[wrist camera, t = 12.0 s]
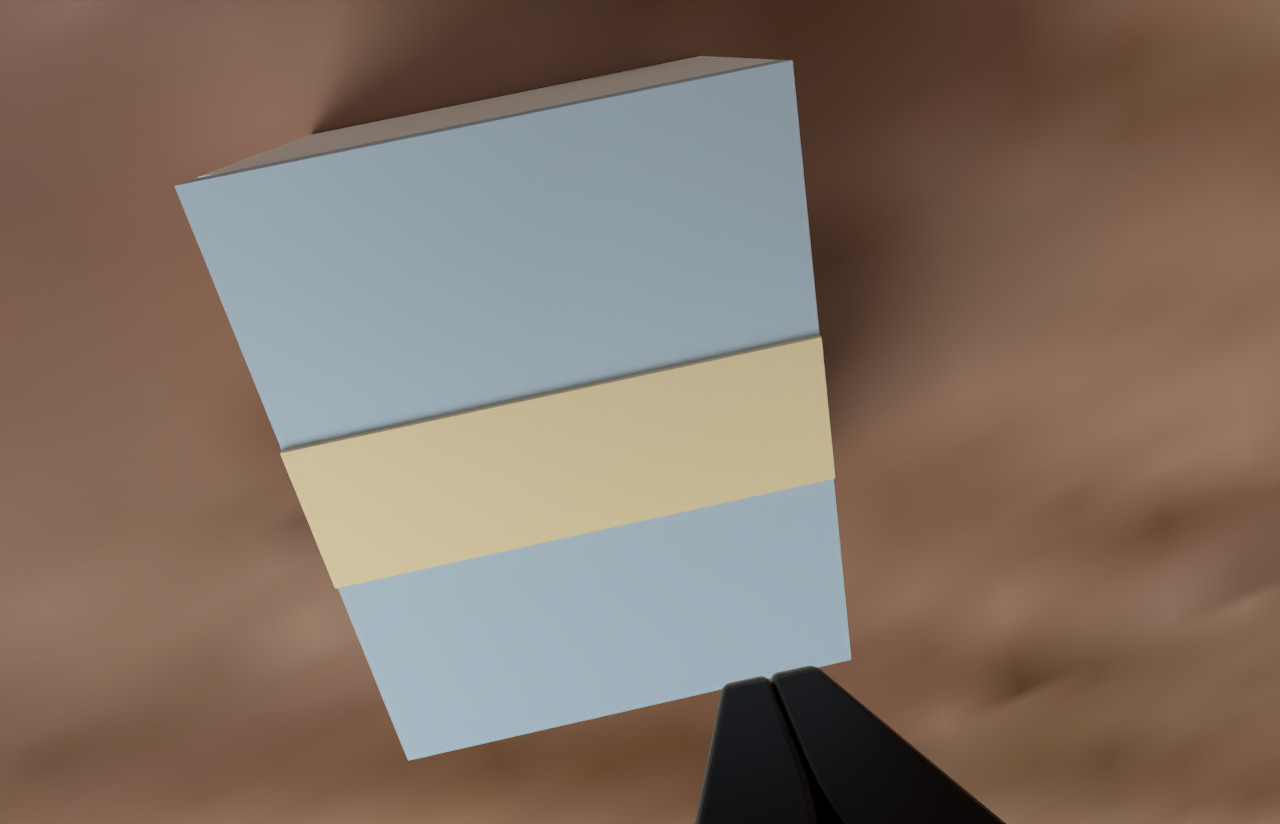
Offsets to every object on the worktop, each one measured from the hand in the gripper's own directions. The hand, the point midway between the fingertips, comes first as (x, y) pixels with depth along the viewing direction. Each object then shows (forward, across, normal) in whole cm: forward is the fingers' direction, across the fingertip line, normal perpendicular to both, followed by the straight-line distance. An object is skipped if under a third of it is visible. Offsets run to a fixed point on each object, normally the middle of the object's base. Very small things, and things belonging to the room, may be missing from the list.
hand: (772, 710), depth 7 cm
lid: (+6, +2, 0) cm, 7 cm away
